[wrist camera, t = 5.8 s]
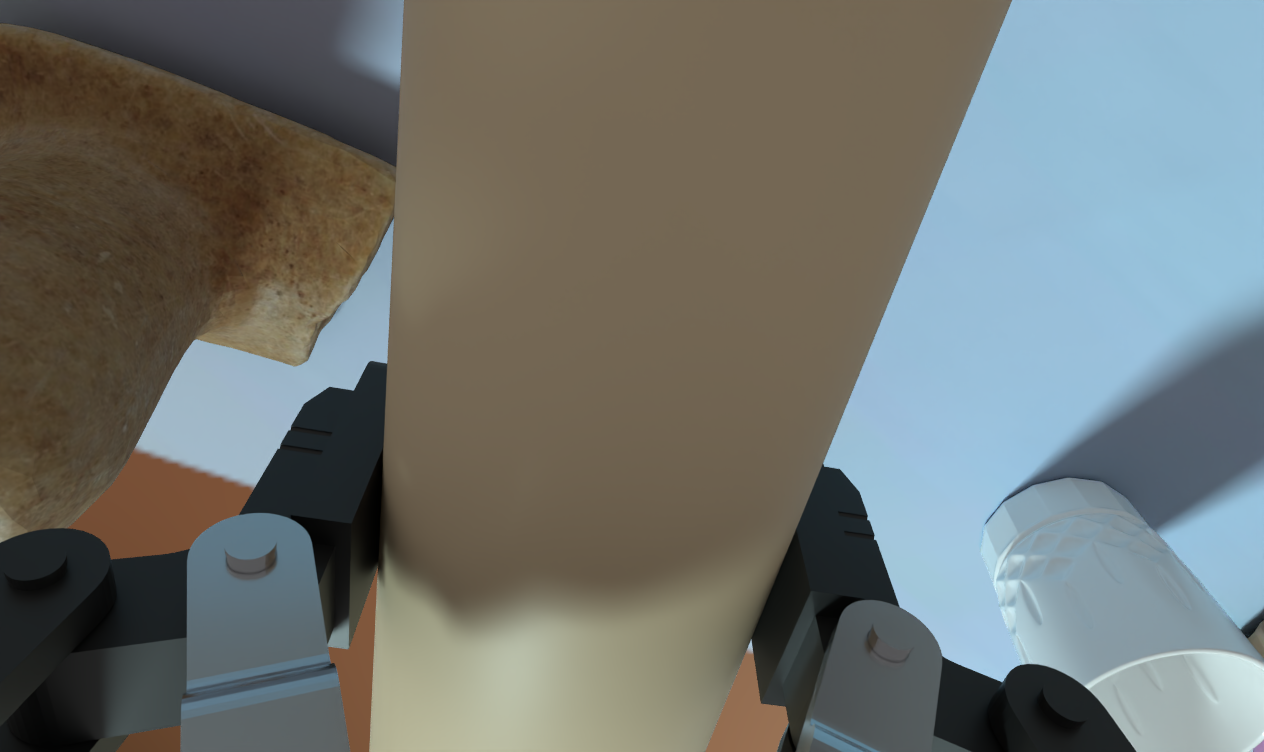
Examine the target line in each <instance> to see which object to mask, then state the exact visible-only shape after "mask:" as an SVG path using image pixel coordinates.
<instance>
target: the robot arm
mask: <svg viewBox="0 0 1264 752" xmlns="http://www.w3.org/2000/svg"><path fill="white" fill-rule="evenodd" d="M386 383H387V364H386V363H380V362H374V361H370V362H369V363H368V364H367V366H366V368H365V370H364V372H363V374H362V376H361V378H360V380H359V382H358V384H357V386H356V388H355V390H354V391H352V390H346V389H340V388H334V387H329V388H327V389H326V390H324V391H323V392H321V393H320V394H318V395H317V396H315V397H314V398H312V399H311V400H309V401H308V402H306V403H305V404H304V405H303V407H302V409H301V410H300V412H299V414H298V415H297V417H296V419H295V421H294V422H293V424H292V426H291V430H290V431H288V432H287V434H286V436H285V438H284V439H283V441H282V443H281V446H280V449H277V451H276V453H275V455H274V456H273V458H272V460H271V461H270V463H269V465H268V466H267V468H266V470H265V472H264V473H263V475H262V477H261V478H260V480H259V482H258V483H257V485H256V487H255V489H254V490H253V492H252V494H251V495H250V497H249V499H248V501H247V502H246V504H245V506H244V507H243V509H242V511H241V512H240V514H239V515H238V516H235V517H231V518H228V519H225V520H223V521H221V522H219V523H217V524H215V525H213V526H211V527H210V528H208V529H207V530H206V531H204V532H203V533H202V534H201V535H200V536H199V537H198V538H197V539H196V540H195V541H194V543H193V545H192V546H191V548H190V549H188V550H184V551H180V552H176V553H170V554H163V555H154V556H143V557H134V558H123V559H113V560H111V558H110V555H109V550H108V548H107V547H106V545H105V544H104V543H103V542H102V541H101V540H100V539H99V538H97V537H96V536H94V535H92V534H89V533H87V532H84V531H80V530H76V529H67V528H50V529H43V530H36V531H32V532H28V533H24V534H21V535H18V536H15V537H12V538H10V539H7V540H5V541H3V542H1V543H0V752H116V750H117V749H118V748H119V747H120V745H121V744H122V743H123V742H124V740H125V739H126V738H127V737H128V735H129V734H132V733H138V732H144V731H149V730H155V729H161V728H167V727H173V726H179V725H181V752H350V747H349V741H348V736H347V729H346V722H345V717H344V710H343V703H342V697H341V691H340V685H339V679H338V674H337V670H336V666H335V664H334V663H332V664H331V662H330V657H329V652H328V647H336V648H344V649H349V646H350V644H351V641H352V638H353V635H354V632H355V630H356V627H357V624H358V621H359V618H360V615H361V613H362V610H363V607H364V604H365V601H366V599H367V596H368V593H369V590H370V587H371V584H372V582H373V578H374V576H375V573H376V570H377V568H378V557H379V535H380V513H381V492H382V470H383V448H384V426H385V405H386ZM867 517H868V515H867V512H866V509H865V507H864V504H863V501H862V498H861V495H860V492H859V491H858V490H857V489H856V487H855V486H854V485H853V484H852V483H851V482H850V480H849V479H848V478H847V477H846V476H845V475H844V473H843V472H842V471H841V470H840V469H835V468H829V467H824V465H823V464H822V467H821V469H820V472H819V474H818V477H817V479H816V481H815V484H814V486H813V489H812V491H811V494H810V496H809V499H808V501H807V503H806V506H805V508H804V511H803V513H802V516H801V518H800V521H799V523H798V525H797V528H796V530H795V533H794V535H793V538H792V540H791V543H790V545H789V548H788V550H787V552H786V555H785V557H784V560H783V562H782V565H781V567H780V570H779V572H778V574H777V577H776V579H775V582H774V584H773V587H772V589H771V592H770V594H769V596H768V599H767V601H766V604H765V606H764V609H763V611H762V614H761V616H760V619H759V621H758V623H757V626H756V628H755V631H754V633H753V636H752V638H751V639H752V646H753V653H754V660H755V666H756V673H757V680H758V687H759V693H760V700H761V703H762V704H770V705H778V706H785V707H786V710H787V715H788V721H789V723H788V725H787V728H786V730H785V732H784V734H783V736H782V738H781V740H780V743H779V747H778V750H777V752H1136V750H1135V749H1134V747H1133V746H1132V745H1131V743H1130V742H1129V740H1128V739H1127V738H1126V736H1125V735H1124V733H1123V732H1122V731H1121V729H1120V728H1119V727H1118V725H1117V724H1116V722H1115V721H1114V720H1113V718H1112V717H1111V715H1110V714H1109V713H1108V711H1107V710H1106V708H1105V707H1104V706H1103V705H1102V703H1101V702H1100V701H1099V700H1098V699H1097V698H1096V697H1095V696H1094V695H1093V694H1092V693H1091V692H1090V691H1089V690H1088V689H1087V688H1086V687H1085V686H1083V685H1082V684H1081V683H1079V682H1078V681H1076V680H1075V679H1074V678H1072V677H1070V676H1068V675H1067V674H1065V673H1063V672H1061V671H1058V670H1056V669H1054V668H1051V667H1048V666H1044V665H1039V664H1023V665H1020V666H1017V667H1015V668H1014V669H1012V670H1011V671H1010V672H1009V674H1008V675H1007V676H1006V678H1005V679H1004V681H1003V682H1000V681H997V680H995V679H993V678H990V677H988V676H985V675H983V674H980V673H978V672H975V671H973V670H970V669H968V668H966V667H963V666H961V665H958V664H956V663H954V662H952V661H950V660H948V659H946V658H944V657H943V656H942V654H941V650H940V647H939V645H938V642H937V641H936V639H935V637H934V636H933V634H932V633H931V632H930V631H929V629H928V628H927V627H926V626H925V625H924V624H923V623H922V622H921V621H920V620H918V619H917V618H916V617H915V616H913V615H912V614H910V613H909V612H907V611H906V610H904V609H902V608H900V607H899V604H898V601H897V598H896V595H895V593H894V590H893V587H892V584H891V581H890V578H889V575H888V573H887V570H886V567H885V564H884V561H883V558H882V555H881V552H880V550H879V547H878V544H877V541H876V540H874V532H873V530H872V527H871V524H870V521H869V520H867Z"/></svg>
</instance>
